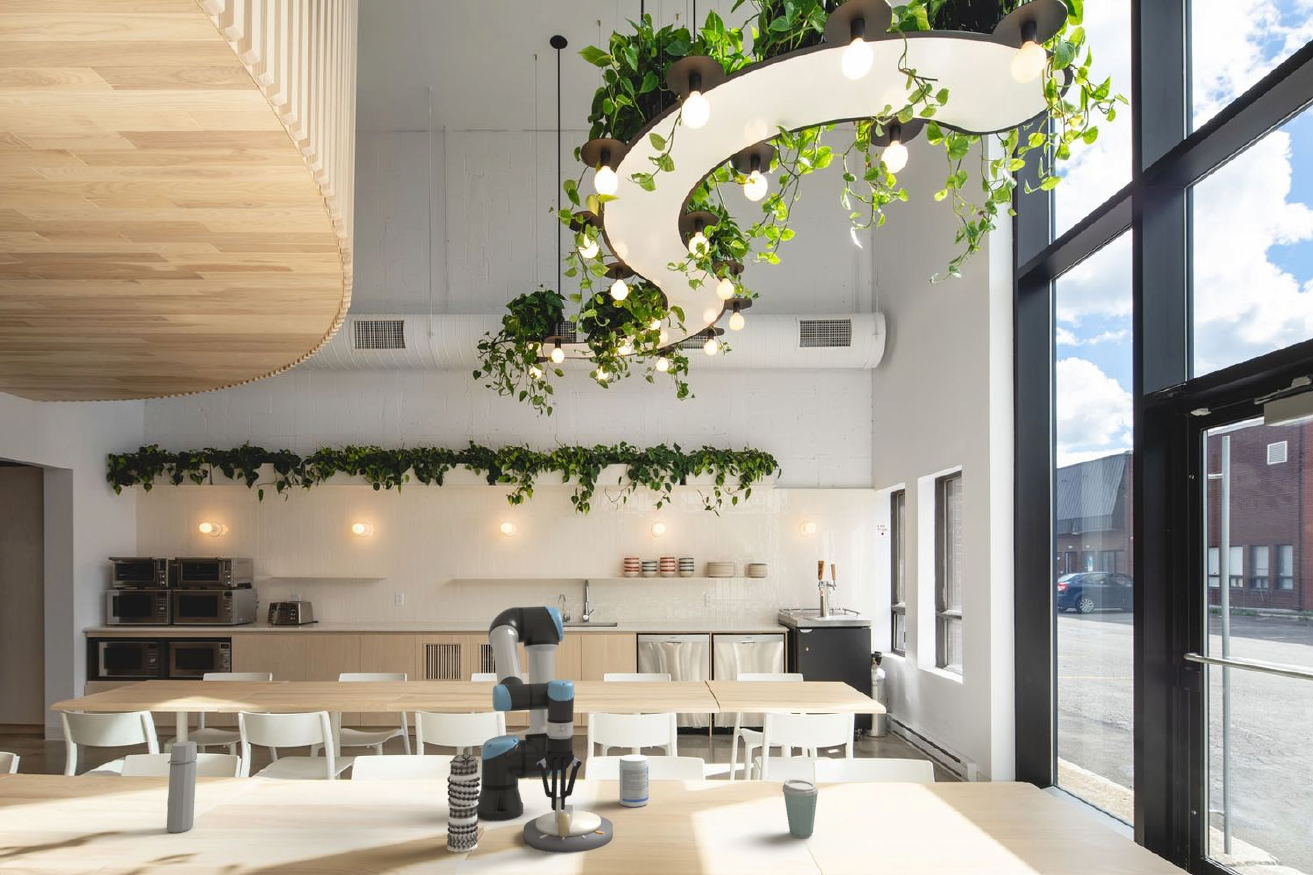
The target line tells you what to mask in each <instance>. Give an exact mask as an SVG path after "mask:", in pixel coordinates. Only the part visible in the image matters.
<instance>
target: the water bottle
mask: <svg viewBox="0 0 1313 875" xmlns="http://www.w3.org/2000/svg"><path fill="white" fill-rule="evenodd" d="M197 746H198V745H197V741H194V740H193V741H191V740H188V741H179V742H175V743H173V744H172V747H171V751H170V753H171V754H170V758H169V759H170V760H169V761H167V764H169V775H168V777H169V779H168V795H167V815H166V831H167V832H169V833H172V834H173V833H175V834H178V833H184V832H187V831H189V830H191V829H192V828H193V826H194V816H195V814H194V813H195V800H196V799H195V797H196V776H197V759H198V749H197V748H198V747H197Z"/></svg>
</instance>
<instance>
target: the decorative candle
mask: <svg viewBox="0 0 1313 875" xmlns="http://www.w3.org/2000/svg"><path fill="white" fill-rule="evenodd" d="M478 763H479V759H476V757H475V755H473V754H470V753H469V754H468V753H465V754H464V753H463V754H457V755H455V756H454V757H453V759H452V760H450V761H449V764H450V773H449V775H448V777H447V780H446V781H447V782H448V784H447V789H448V790H447V795H448V796H449V797H448V798H447V801H448V804H447V806H448V807H449V814H448V822H447V832H448V834H446V837H447V841H446V843H447V846H446V849H447V850H448V851H449V850H451V851H460V852H459V853H464V852H463V851H468V852H470V851H469V850H472V851H475V850H476V849H477V848H478V842H479V840H478V837H479V836H478V835H479V833H478V829H479V826H478V823H479V820H478V817H477V812H476V811H477V805H478V799H479V795H478V794H480V790H479V789H478V787H481V783H480V782H479V781H481V777H479V771H478ZM451 851H450V852H451Z"/></svg>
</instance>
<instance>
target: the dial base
mask: <svg viewBox="0 0 1313 875" xmlns="http://www.w3.org/2000/svg"><path fill="white" fill-rule="evenodd" d="M598 816H599V817H600V818H601V826H600V828H599V829H598V830H596V831H594V832H592V833H588V834H584V835H578V836H566V837H560V836H553V835H548V834H544V833H541V832H539V831H538V830H537V829H536V820H537V818H538V817H535V818H533V819H531V820H529V821H527V822H526V823H525V824H524V826H523V837H522V838H524V839H523V842H524V843H525V844H526V845H527V846H528V845H529V846H528V847H531V848H533V849H535V850H539V851H543V852H551V853H577V852H579V853H580V852H585V851H590V850H595V849H599V848H601V847H604V846H605V845H607V844H609V843H610V842H611V841H613V838H614V836H613V834H614V833H613V830H614V824H613V823H612V821H611V820H609V819H608V818H606V817H603V816H601V815H598ZM612 837H613V838H612Z"/></svg>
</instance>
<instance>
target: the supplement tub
mask: <svg viewBox="0 0 1313 875" xmlns="http://www.w3.org/2000/svg"><path fill="white" fill-rule="evenodd" d="M618 766H619V768H618V770H619V803H620V804H621V805H622V806H624V807H630V808H637V807H643V806H645V805H647V804H649V802H650V801H649V798H650V797H649V792H650V791H649V759H648V756H646V755H644V754H626V755H622V756H620V757H619V765H618Z"/></svg>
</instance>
